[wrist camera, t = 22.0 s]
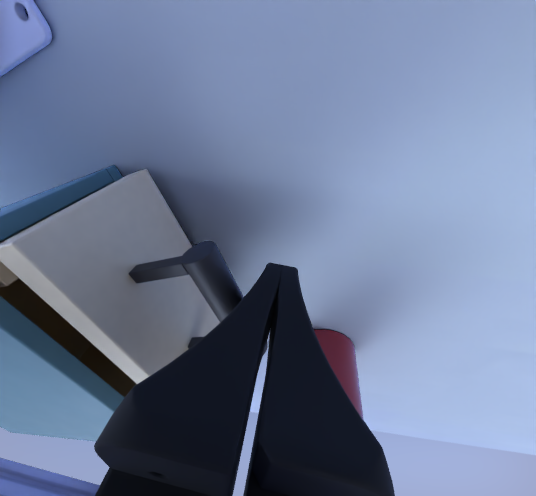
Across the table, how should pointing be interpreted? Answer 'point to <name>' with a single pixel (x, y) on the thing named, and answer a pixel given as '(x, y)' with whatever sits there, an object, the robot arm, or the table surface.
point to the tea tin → (342, 362)
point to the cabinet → (49, 344)
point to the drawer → (118, 281)
